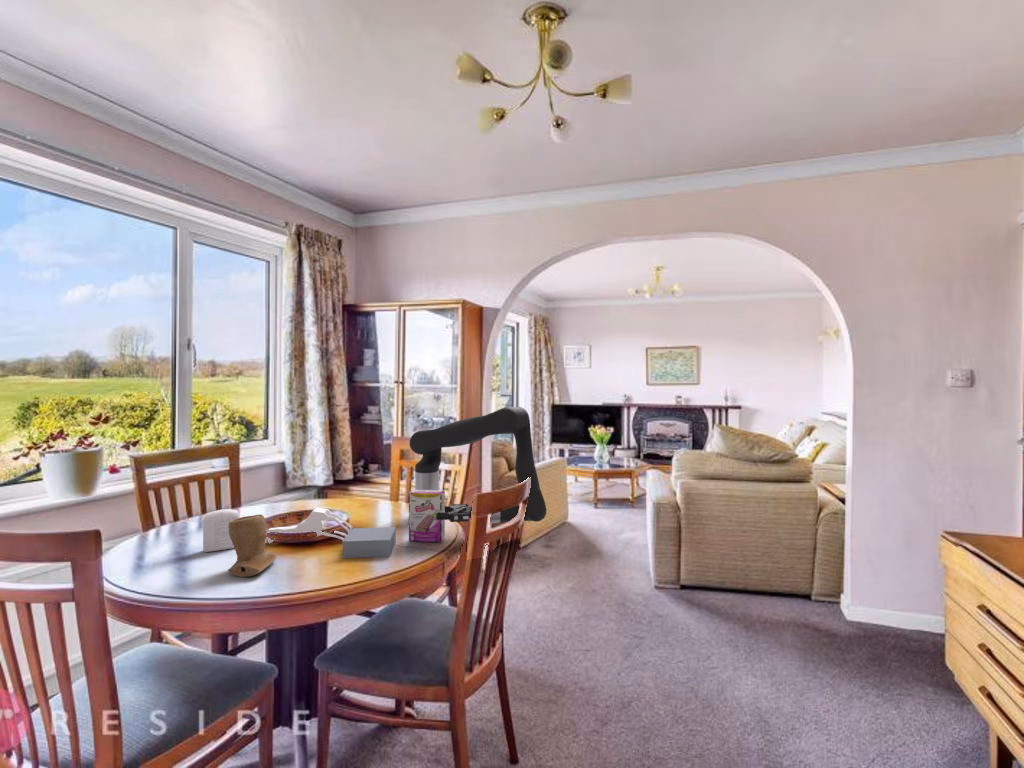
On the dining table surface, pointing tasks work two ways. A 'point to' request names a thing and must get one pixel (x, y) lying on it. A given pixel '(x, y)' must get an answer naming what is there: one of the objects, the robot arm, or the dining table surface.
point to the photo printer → (218, 530)
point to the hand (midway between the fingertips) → (437, 513)
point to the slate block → (369, 542)
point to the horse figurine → (314, 524)
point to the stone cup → (249, 545)
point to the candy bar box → (426, 516)
